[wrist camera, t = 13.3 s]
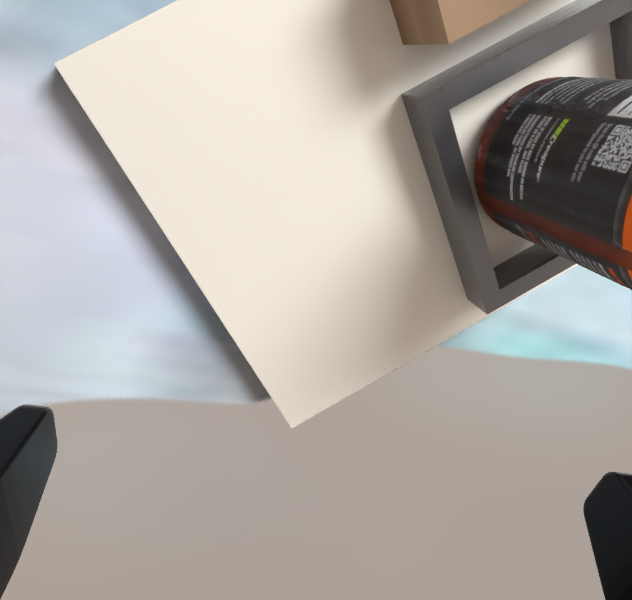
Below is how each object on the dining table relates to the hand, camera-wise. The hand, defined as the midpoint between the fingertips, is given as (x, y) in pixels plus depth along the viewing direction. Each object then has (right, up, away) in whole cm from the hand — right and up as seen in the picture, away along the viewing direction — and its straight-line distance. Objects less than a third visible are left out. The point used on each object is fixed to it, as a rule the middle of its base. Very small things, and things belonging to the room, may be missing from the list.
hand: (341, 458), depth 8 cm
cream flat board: (+3, +8, +12) cm, 15 cm away
